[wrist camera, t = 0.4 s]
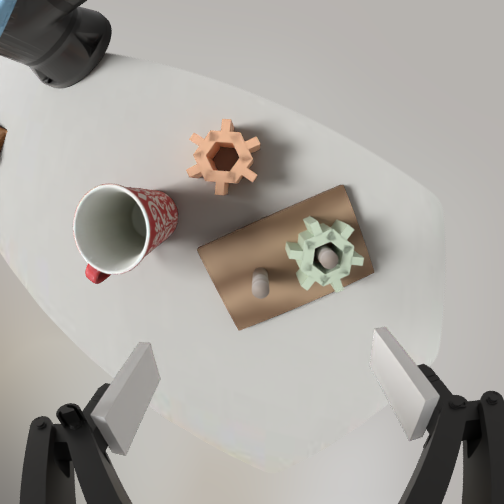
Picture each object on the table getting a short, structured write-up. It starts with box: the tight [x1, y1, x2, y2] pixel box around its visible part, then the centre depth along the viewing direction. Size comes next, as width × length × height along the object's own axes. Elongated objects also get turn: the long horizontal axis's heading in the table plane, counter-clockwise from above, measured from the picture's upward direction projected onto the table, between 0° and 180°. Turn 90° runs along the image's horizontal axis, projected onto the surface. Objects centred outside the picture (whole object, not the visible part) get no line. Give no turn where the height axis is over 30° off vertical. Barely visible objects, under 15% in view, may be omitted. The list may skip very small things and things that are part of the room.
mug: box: [73, 184, 178, 284], centre depth 32 cm, size 13×9×14 cm
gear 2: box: [285, 216, 364, 293], centre depth 35 cm, size 9×8×5 cm
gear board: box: [197, 185, 374, 330], centre depth 36 cm, size 13×21×8 cm, turn 115°
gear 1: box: [186, 119, 260, 195], centre depth 34 cm, size 9×8×5 cm
